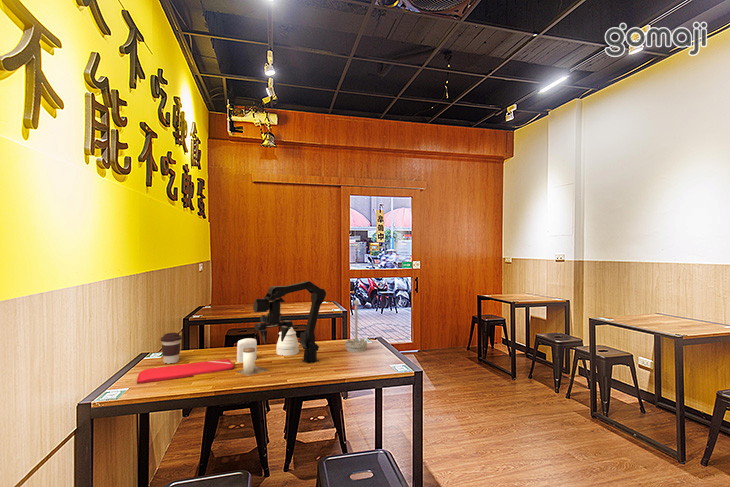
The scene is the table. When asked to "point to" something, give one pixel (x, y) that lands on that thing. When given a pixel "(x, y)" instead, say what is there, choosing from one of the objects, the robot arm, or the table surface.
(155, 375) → the dish drying mat
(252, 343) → the photo printer
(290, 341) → the honey pot
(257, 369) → the board
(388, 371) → the table surface
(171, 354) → the coffee cup
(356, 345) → the flag stand
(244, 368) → the tumbler
